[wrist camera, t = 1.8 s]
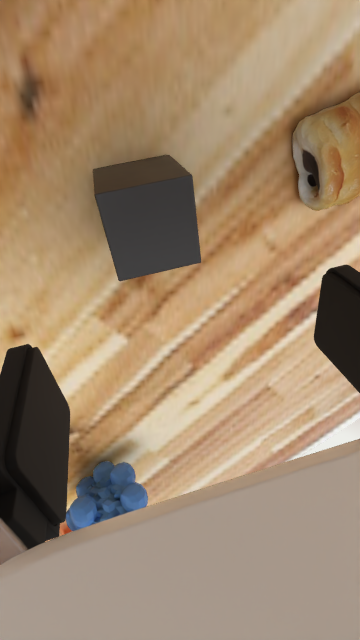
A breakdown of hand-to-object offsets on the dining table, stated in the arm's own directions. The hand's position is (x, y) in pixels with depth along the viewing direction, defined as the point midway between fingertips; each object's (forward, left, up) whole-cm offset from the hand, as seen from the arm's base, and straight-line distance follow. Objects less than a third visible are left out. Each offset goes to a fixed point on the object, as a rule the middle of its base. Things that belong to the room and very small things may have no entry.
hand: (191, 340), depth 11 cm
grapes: (+11, +28, -15) cm, 33 cm away
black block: (0, 0, -15) cm, 15 cm away
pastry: (-15, -1, -15) cm, 22 cm away
